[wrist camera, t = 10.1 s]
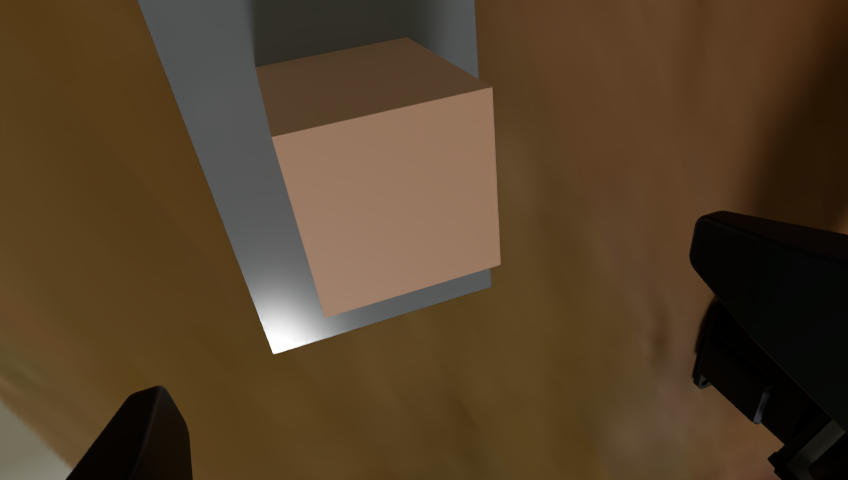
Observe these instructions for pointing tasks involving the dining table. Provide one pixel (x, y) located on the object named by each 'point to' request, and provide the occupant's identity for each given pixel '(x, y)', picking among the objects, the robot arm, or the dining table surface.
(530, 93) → the dining table surface
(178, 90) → the slate board
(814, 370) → the robot arm
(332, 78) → the tan rectangular block
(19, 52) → the dining table surface
